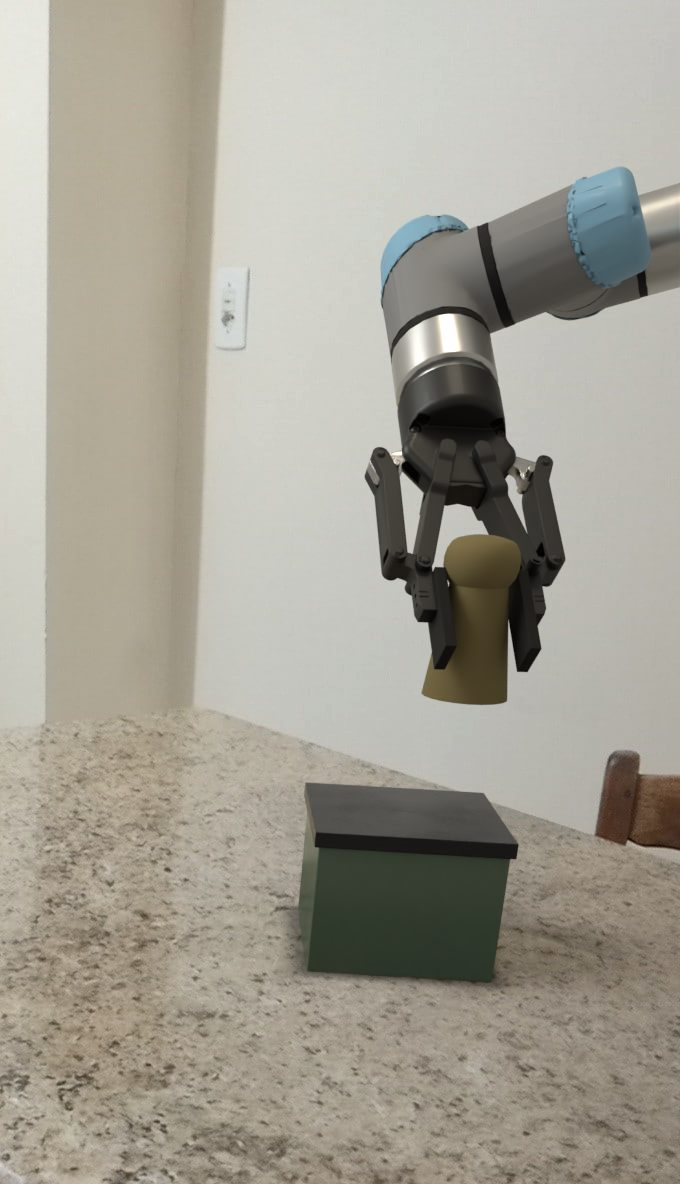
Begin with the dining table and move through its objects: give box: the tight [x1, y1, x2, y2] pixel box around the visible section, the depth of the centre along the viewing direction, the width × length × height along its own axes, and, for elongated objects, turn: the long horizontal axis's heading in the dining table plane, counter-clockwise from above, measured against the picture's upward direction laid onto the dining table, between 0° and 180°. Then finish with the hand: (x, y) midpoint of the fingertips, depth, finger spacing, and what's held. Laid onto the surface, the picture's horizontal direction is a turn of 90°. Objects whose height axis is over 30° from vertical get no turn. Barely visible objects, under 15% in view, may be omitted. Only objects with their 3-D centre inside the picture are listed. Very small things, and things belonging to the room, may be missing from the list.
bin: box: [297, 782, 520, 983], centre depth 93 cm, size 13×13×10 cm
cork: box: [421, 533, 521, 706], centre depth 96 cm, size 6×6×11 cm
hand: (487, 658), depth 93 cm, fingers closed on cork, 5 cm apart
